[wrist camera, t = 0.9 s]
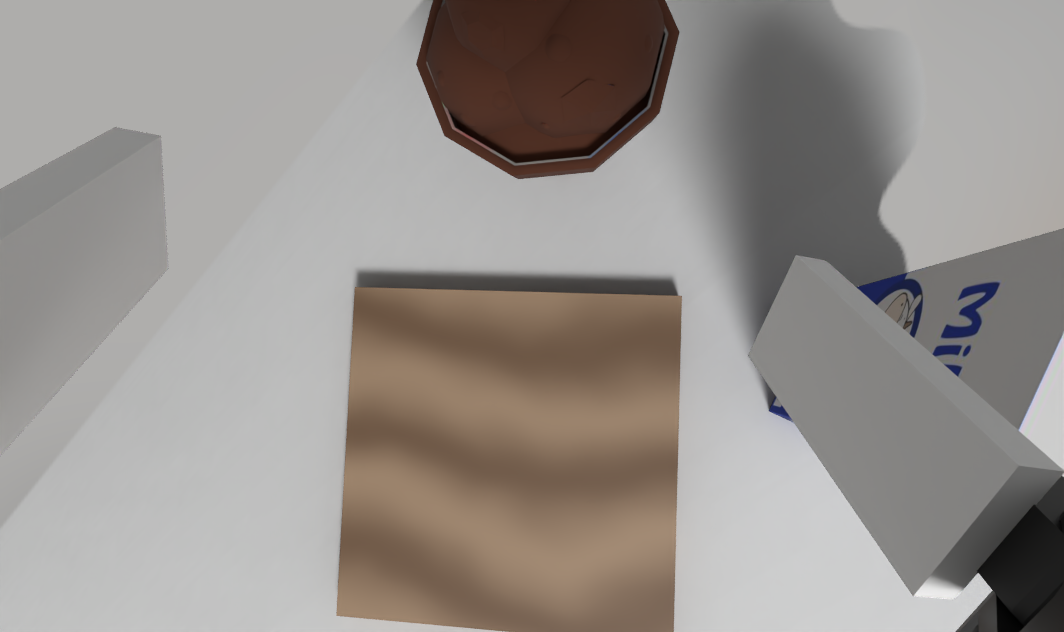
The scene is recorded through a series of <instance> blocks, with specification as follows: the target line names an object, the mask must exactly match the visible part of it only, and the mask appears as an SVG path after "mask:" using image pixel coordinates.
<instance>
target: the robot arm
mask: <svg viewBox="0 0 1064 632" xmlns="http://www.w3.org/2000/svg"><path fill="white" fill-rule="evenodd" d="M165 219H166V217H165V202H164V183H163V165H162V148H161V136H159V135H154V134H148V133H143V132H138V131H133V130H127V129H122V128H117V127H115V128H113V129H111V130H109V131H107V132H105V133H104V134H102V135H100V136H98V137H96V138H94V139H92V140H90V141H89V142H87V143H85V144H83V145H81V146H79V147H77V148H76V149H74V150H72V151H70V152H68V153H66V154H65V155H63V156H61V157H59V158H57V159H55V160H53V161H51V162H50V163H48V164H46V165H44V166H42V167H41V168H38V169H37V170H35V171H33V172H31V173H29V174H27V175H25V176H24V177H22V178H20V179H18V180H17V181H14V182H13V183H11V184H9V185H7V186H5V187H3V188H1V189H0V456H1V455H2V453H3V452H4V451H5V450H6V449H7V448H8V447H9V446H10V445H11V443H12V442H13V441H14V440H15V439H16V438H17V436H19V435H20V433H21V432H22V431H23V430H24V429H25V428H26V427H27V426H28V425H29V423H30V422H31V421H32V420H33V419H34V418H35V417H36V416H37V415H38V413H39V412H40V411H41V410H42V409H43V408H44V407H45V406H46V405H47V403H48V402H49V401H50V400H51V399H52V398H53V397H54V395H55V394H56V393H57V392H58V391H59V390H60V389H61V388H62V386H64V384H65V383H66V382H67V381H68V380H69V379H70V378H71V377H72V376H73V374H74V373H75V372H76V371H77V370H78V369H79V368H80V367H81V365H82V364H83V363H84V362H85V361H86V360H87V359H88V358H89V357H90V355H91V354H92V353H93V352H94V351H95V350H96V349H97V348H98V347H99V345H100V344H101V343H102V342H103V341H104V340H105V339H106V338H107V336H108V335H109V334H110V333H111V332H112V331H113V330H114V329H115V327H116V326H117V325H118V324H119V323H120V322H121V321H122V320H123V319H124V317H125V316H126V315H127V314H128V313H129V312H130V311H131V309H133V307H134V306H135V305H136V304H137V303H138V302H139V301H140V300H141V298H142V297H143V296H144V295H145V294H146V293H147V292H148V291H149V290H150V288H151V287H152V286H153V285H154V284H155V283H156V282H157V281H158V279H159V278H160V277H161V276H162V275H163V274H164V273H165V272H166V271H167V270H168V253H167V235H166V220H165ZM748 356H749V358H750V359H751V361H752V362H753V364H754V365H755V367H756V368H757V369H758V371H759V372H760V374H761V375H762V377H763V378H764V380H765V381H766V383H767V384H768V385H769V387H770V388H771V390H772V391H773V393H774V394H775V396H776V397H777V399H778V400H779V401H780V403H781V404H782V406H783V407H784V409H785V410H786V412H787V413H788V415H789V416H790V418H791V419H792V420H793V422H794V423H795V425H796V426H797V428H798V429H799V431H800V432H801V434H802V435H803V436H804V438H805V439H806V441H807V442H808V444H809V445H810V447H811V448H812V450H813V451H814V452H815V454H816V455H817V457H818V458H819V460H820V461H821V463H822V464H823V466H824V467H825V469H826V470H827V471H828V473H829V474H830V476H831V477H832V479H833V480H834V482H835V483H836V485H837V486H838V487H839V489H840V490H841V492H842V493H843V495H844V496H845V498H846V499H847V501H848V502H849V503H850V505H851V506H852V508H853V509H854V511H855V512H856V514H857V515H858V517H859V518H860V520H861V521H862V522H863V524H864V525H865V527H866V528H867V530H868V531H869V533H870V534H871V536H872V537H873V538H874V540H875V541H876V543H877V544H878V546H879V547H880V549H881V550H882V552H883V553H884V554H885V556H886V557H887V559H888V560H889V562H890V563H891V565H892V566H893V568H894V569H895V571H896V572H897V573H898V575H899V576H900V578H901V579H902V581H903V582H904V584H905V585H906V587H907V588H908V589H909V591H910V592H911V594H912V595H913V596H915V597H929V598H943V599H955V598H956V597H957V596H958V595H959V594H960V593H961V592H962V590H963V589H964V588H965V587H966V586H967V585H968V583H969V582H970V581H971V580H972V579H973V578H974V576H975V575H976V574H977V573H979V574H980V575H981V576H982V578H983V579H984V580H985V581H986V583H987V584H988V585H989V586H990V587H991V589H992V590H993V591H992V592H991V593H990V594H989V595H988V596H987V597H986V598H985V600H984V601H983V602H982V603H981V604H980V605H979V606H978V607H977V609H976V610H975V611H974V612H973V613H972V614H971V615H970V616H969V617H968V619H967V620H966V621H965V622H964V623H963V624H962V625H961V626H960V627H959V629H958V630H957V631H956V632H1064V477H1063V476H1062V474H1063V473H1064V470H1063V469H1062V468H1061V467H1059V466H1058V465H1057V464H1056V463H1055V462H1054V461H1053V460H1051V459H1050V458H1049V457H1048V456H1047V455H1046V454H1045V453H1044V452H1042V451H1041V450H1040V449H1039V448H1038V447H1037V446H1036V445H1034V444H1033V443H1032V442H1031V441H1030V440H1029V439H1028V438H1027V437H1025V436H1024V435H1023V434H1022V433H1021V432H1020V431H1019V430H1017V429H1016V428H1015V427H1014V426H1013V425H1012V424H1011V423H1010V422H1008V421H1007V420H1006V419H1005V418H1004V417H1003V416H1002V415H1000V414H999V413H998V412H997V411H996V410H995V409H994V408H993V407H991V406H990V405H989V404H988V403H987V402H986V401H985V400H983V399H982V398H981V397H980V396H979V395H978V394H977V393H976V392H974V391H973V390H972V389H971V388H970V387H969V386H968V385H966V384H965V383H964V382H963V381H962V380H961V379H960V378H959V377H957V376H956V375H955V374H954V373H953V372H952V371H951V370H949V369H948V368H947V367H946V366H945V365H944V364H943V363H942V362H940V361H939V360H938V359H937V358H936V357H935V356H934V355H932V354H931V353H930V352H929V351H928V350H927V349H926V348H925V347H923V346H922V345H921V344H920V343H919V342H918V341H917V340H915V339H914V338H913V337H912V336H911V335H910V334H909V333H908V332H906V331H905V330H904V329H903V328H902V327H901V326H900V325H898V324H897V323H896V322H895V321H894V320H893V319H892V318H891V317H889V316H888V315H887V314H886V313H885V312H884V311H883V310H881V309H880V308H879V307H878V306H877V305H876V304H875V303H874V302H872V301H871V300H870V299H869V298H868V297H867V296H866V295H864V294H863V293H862V292H861V291H860V290H859V289H858V288H857V287H855V286H854V285H853V284H852V283H851V282H850V281H849V280H847V279H846V278H845V277H844V276H843V275H842V274H841V273H840V272H838V271H837V270H836V269H835V268H834V267H833V266H832V265H830V264H829V263H828V262H827V261H826V260H820V259H815V258H810V257H804V256H799V255H796V256H795V258H794V260H793V262H792V264H791V266H790V268H789V270H788V273H787V275H786V277H785V279H784V281H783V283H782V285H781V287H780V289H779V291H778V294H777V296H776V298H775V300H774V302H773V304H772V306H771V308H770V310H769V312H768V315H767V317H766V319H765V321H764V323H763V325H762V327H761V329H760V331H759V334H758V336H757V338H756V340H755V342H754V344H753V346H752V348H751V350H750V352H749V355H748Z"/></svg>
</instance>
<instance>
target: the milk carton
mask: <svg viewBox="0 0 1064 632" xmlns="http://www.w3.org/2000/svg"><path fill="white" fill-rule="evenodd" d="M857 288H858V289H859V290H860V291H861V292H862V293H863V294H864V295H866V296H867V297H868V298H869V299H870V300H871V301H872V302H874V303H875V304H876V305H877V306H878V307H879V308H880V309H881V310H883V311H884V312H885V313H886V314H887V315H888V316H889V317H891V318H892V319H893V320H894V321H895V322H896V323H897V324H898V325H900V326H901V327H902V328H903V329H904V330H905V331H906V332H908V333H909V334H910V335H911V336H912V337H913V338H914V339H915V340H917V341H918V342H919V343H920V344H921V345H922V346H923V347H925V348H926V349H927V350H928V351H929V352H930V353H931V354H932V355H934V356H935V357H936V358H937V359H938V360H939V361H940V362H942V363H943V364H944V365H945V366H946V367H947V368H948V369H949V370H951V371H952V372H953V373H954V374H955V375H956V376H957V377H959V378H960V379H961V380H962V381H963V382H964V383H965V384H966V385H968V386H969V387H970V388H971V389H972V390H973V391H974V392H976V393H977V394H978V395H979V396H980V397H981V398H982V399H983V400H985V401H986V402H987V403H988V404H989V405H990V406H991V407H993V408H994V409H995V410H996V411H997V412H998V413H999V414H1000V415H1002V416H1003V417H1004V418H1005V419H1006V420H1007V421H1008V422H1010V423H1011V424H1012V425H1013V426H1014V427H1015V428H1016V429H1017V430H1019V431H1020V432H1021V433H1022V434H1023V435H1024V436H1025V437H1027V438H1028V439H1029V440H1030V441H1031V442H1032V443H1033V444H1034V445H1036V446H1037V447H1038V448H1039V449H1040V450H1041V451H1042V452H1044V453H1045V454H1046V455H1047V456H1048V457H1049V458H1050V459H1051V460H1053V461H1054V462H1055V463H1056V464H1057V465H1058V466H1059V467H1061V468H1062V469H1063V470H1064V228H1063V229H1060V230H1056V231H1053V232H1049V233H1046V234H1042V235H1039V236H1035V237H1032V238H1028V239H1025V240H1021V241H1018V242H1014V243H1011V244H1007V245H1003V246H1000V247H996V248H993V249H990V250H986V251H982V252H979V253H975V254H972V255H968V256H965V257H961V258H958V259H954V260H951V261H947V262H944V263H940V264H936V265H933V266H929V267H926V268H922V269H919V270H915V271H912V272H908V273H905V274H901V275H898V276H894V277H891V278H887V279H883V280H880V281H876V282H873V283H869V284H866V285H862V286H859V287H857ZM770 412H772V413H774V414H776V415H778V416H781V417H783V418H785V419H787V420H789V421H791V422H793V420H792V419H791V418H790V416H789V415H788V413H787V412H786V410H785V409H784V407H783V406H782V404H781V403H780V401H779V400H778V399H777V397H775V399H774V401H773V403H772V405H771V408H770ZM1062 476H1063V477H1064V473H1063V474H1062Z"/></svg>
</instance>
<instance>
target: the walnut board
mask: <svg viewBox="0 0 1064 632" xmlns="http://www.w3.org/2000/svg"><path fill="white" fill-rule="evenodd" d="M681 306H682V296H668V295H631V294H593V293H556V292H519V291H481V290H444V289H407V288H369V287H355V295H354V313H353V331H352V349H351V366H350V384H349V402H348V420H347V438H346V455H345V473H344V491H343V509H342V526H341V544H340V562H339V580H338V598H337V615H336V616H345V617H356V618H367V619H378V620H388V621H399V622H410V623H421V624H432V625H442V626H453V627H464V628H475V629H486V630H496V631H507V632H674V593H675V552H676V511H677V470H678V429H679V388H680V347H681Z"/></svg>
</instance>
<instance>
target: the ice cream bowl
mask: <svg viewBox="0 0 1064 632" xmlns="http://www.w3.org/2000/svg"><path fill="white" fill-rule="evenodd" d="M678 36H679V30H678V28H677V26H676V24H675V21H674V19H673V17H672V15H671V12H670V10H669V8H668V6H667V3H666V1H665V0H433V3H432V7H431V10H430V14H429V18H428V22H427V26H426V29H425V33H424V37H423V41H422V45H421V48H420V52H419V56H418V60H417V64H416V65H417V67H418V70H419V72H420V75H421V77H422V80H423V82H424V85H425V87H426V90H427V93H428V95H429V98H430V100H431V103H432V105H433V108H434V110H435V113H436V115H437V118H438V120H439V123H440V125H441V128H442V131H443V133H444V136H446V137H448V138H449V139H451V140H453V141H454V142H456V143H458V144H459V145H461V146H463V147H464V148H466V149H468V150H470V151H471V152H473V153H475V154H476V155H478V156H480V157H481V158H483V159H485V160H486V161H488V162H490V163H491V164H493V165H495V166H496V167H498V168H500V169H502V170H503V171H505V172H507V173H508V174H510V175H512V176H514V177H516V178H518V179H524V178H535V177H545V176H555V175H565V174H575V173H585V172H593V171H594V170H596V169H597V168H598V167H599V166H600V165H601V164H603V163H604V162H605V161H606V160H607V159H609V158H610V157H611V156H612V155H613V154H614V153H616V152H617V151H618V150H619V149H620V148H621V147H623V146H624V145H625V144H626V143H627V142H628V141H630V140H631V139H632V138H633V137H634V136H635V135H637V134H638V133H639V132H640V131H641V130H643V129H644V128H645V127H646V126H647V125H648V124H650V123H651V122H652V121H653V119H654V118H655V117H656V116H657V115H658V114H659V112H660V108H661V104H662V100H663V96H664V92H665V88H666V84H667V80H668V76H669V72H670V68H671V64H672V60H673V56H674V52H675V48H676V44H677V40H678Z"/></svg>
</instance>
